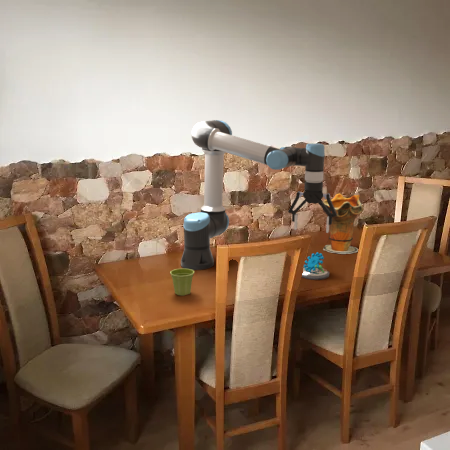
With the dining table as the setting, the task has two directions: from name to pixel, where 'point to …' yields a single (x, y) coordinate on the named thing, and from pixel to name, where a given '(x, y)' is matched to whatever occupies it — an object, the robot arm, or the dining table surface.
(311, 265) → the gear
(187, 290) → the plant pot
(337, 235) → the decorative vase
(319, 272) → the plate
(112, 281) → the dining table surface
